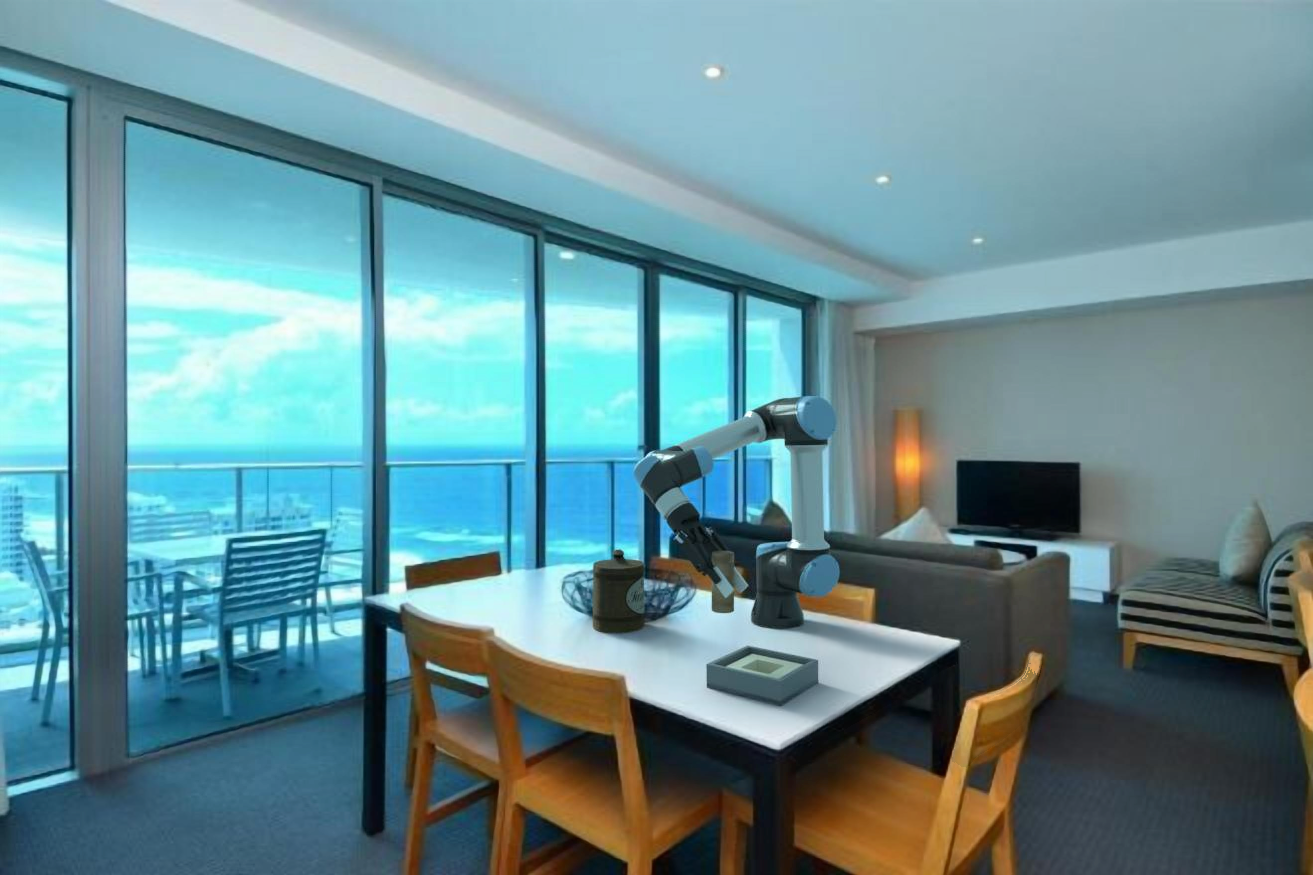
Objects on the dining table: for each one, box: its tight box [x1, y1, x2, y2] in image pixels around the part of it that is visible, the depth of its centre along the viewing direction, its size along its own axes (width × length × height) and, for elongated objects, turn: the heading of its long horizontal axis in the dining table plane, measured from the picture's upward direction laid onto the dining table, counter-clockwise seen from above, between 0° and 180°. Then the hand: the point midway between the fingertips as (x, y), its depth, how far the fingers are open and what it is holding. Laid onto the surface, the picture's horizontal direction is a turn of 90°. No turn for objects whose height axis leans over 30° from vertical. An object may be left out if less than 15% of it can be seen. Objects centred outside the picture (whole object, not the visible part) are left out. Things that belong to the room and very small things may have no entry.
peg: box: [711, 550, 735, 614], centre depth 161 cm, size 5×5×13 cm
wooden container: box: [592, 549, 645, 634], centre depth 205 cm, size 15×15×22 cm
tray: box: [705, 645, 819, 707], centre depth 156 cm, size 17×18×5 cm
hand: (736, 591), depth 158 cm, fingers closed on peg, 5 cm apart
